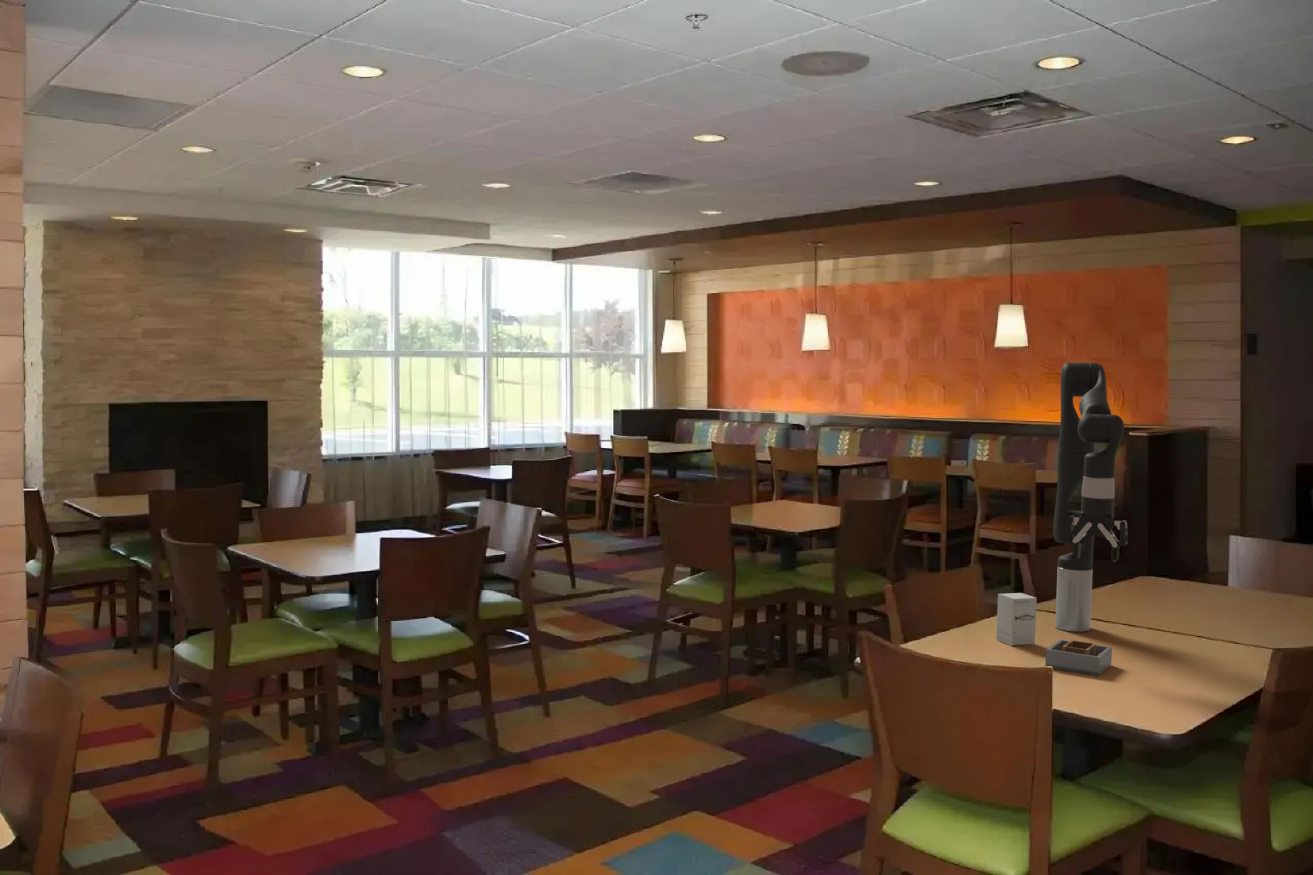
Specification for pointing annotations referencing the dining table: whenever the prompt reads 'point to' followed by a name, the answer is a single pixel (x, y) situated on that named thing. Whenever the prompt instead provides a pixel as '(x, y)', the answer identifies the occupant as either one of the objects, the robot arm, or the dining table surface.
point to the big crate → (1078, 659)
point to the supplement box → (1016, 619)
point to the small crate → (1080, 647)
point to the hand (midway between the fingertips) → (1095, 559)
